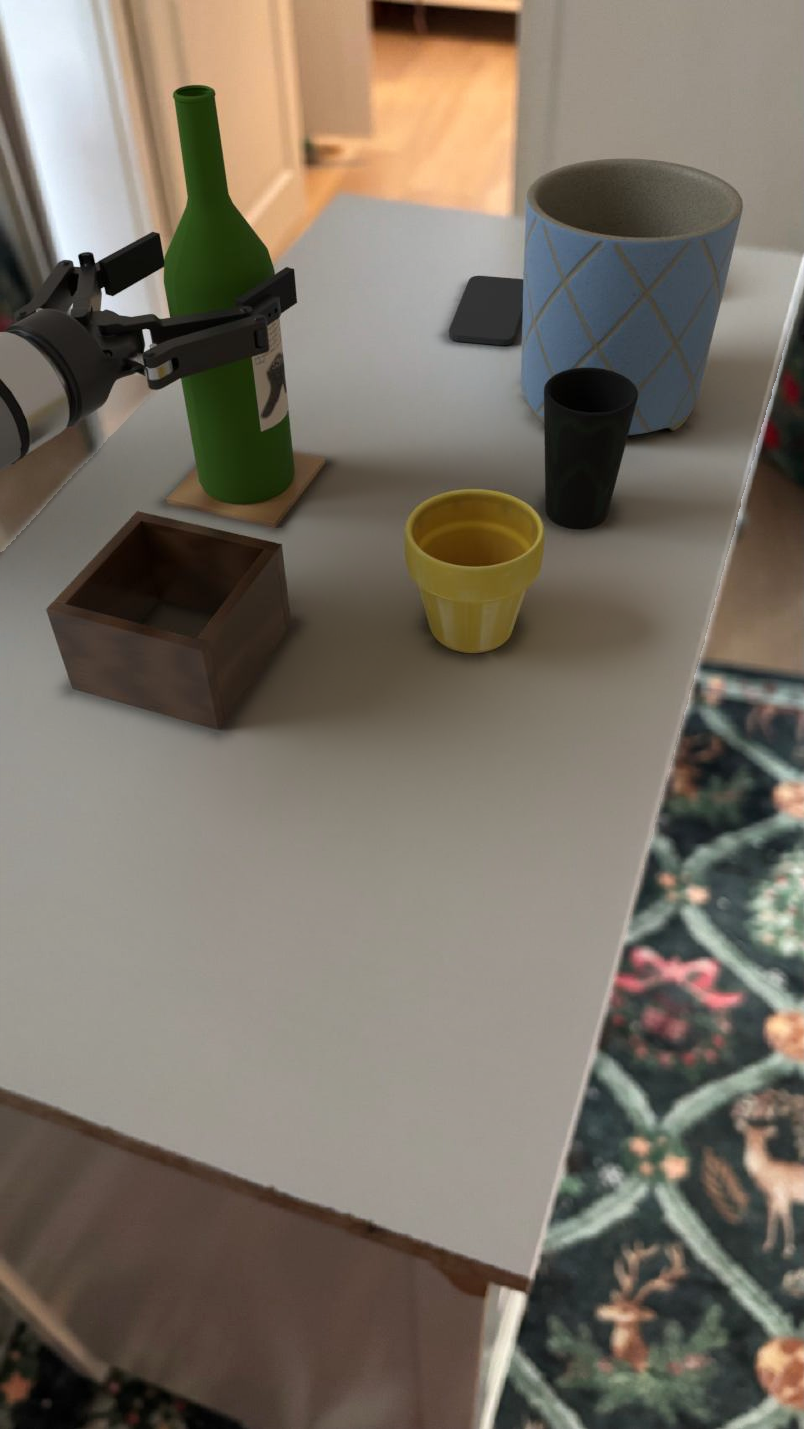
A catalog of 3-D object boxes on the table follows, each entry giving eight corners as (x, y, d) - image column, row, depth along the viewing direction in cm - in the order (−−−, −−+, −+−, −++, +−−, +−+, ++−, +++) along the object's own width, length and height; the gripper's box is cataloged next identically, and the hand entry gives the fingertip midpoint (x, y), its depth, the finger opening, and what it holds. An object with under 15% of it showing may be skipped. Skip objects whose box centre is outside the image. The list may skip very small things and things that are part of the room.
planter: (522, 452, 104) (537, 243, 90) (506, 355, 117) (517, 160, 103) (720, 447, 104) (767, 238, 89) (681, 351, 117) (717, 155, 103)
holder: (71, 689, 82) (45, 609, 77) (155, 589, 90) (136, 510, 85) (218, 730, 79) (202, 650, 73) (291, 623, 87) (282, 543, 81)
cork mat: (167, 503, 99) (166, 498, 99) (223, 442, 106) (222, 437, 106) (275, 528, 96) (275, 522, 96) (325, 463, 103) (325, 457, 103)
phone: (446, 334, 119) (470, 274, 129) (446, 341, 119) (470, 281, 129) (513, 340, 118) (532, 279, 128) (512, 347, 118) (531, 286, 128)
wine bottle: (278, 511, 97) (231, 115, 73) (185, 499, 98) (109, 107, 75) (307, 457, 103) (272, 75, 79) (218, 446, 104) (159, 68, 81)
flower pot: (441, 571, 91) (442, 473, 84) (555, 606, 88) (566, 507, 81) (383, 645, 85) (379, 545, 78) (503, 686, 82) (511, 586, 75)
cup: (618, 540, 94) (637, 417, 85) (530, 533, 95) (541, 411, 86) (620, 490, 99) (638, 369, 91) (537, 483, 100) (547, 364, 92)
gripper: (-72, 385, 82) (116, 278, 95) (182, 479, 73) (354, 347, 85) (-107, 289, 77) (98, 189, 89) (162, 377, 68) (349, 252, 80)
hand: (223, 266), depth 87 cm, fingers open, 13 cm apart
